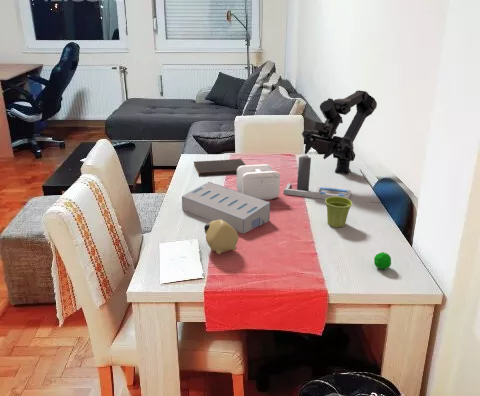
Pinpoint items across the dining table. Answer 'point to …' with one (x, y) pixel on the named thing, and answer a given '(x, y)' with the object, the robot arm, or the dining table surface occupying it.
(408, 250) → the dining table surface
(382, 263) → the polyhedron
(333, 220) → the plant pot
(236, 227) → the warehouse
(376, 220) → the dining table surface
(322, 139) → the robot arm
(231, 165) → the hardcover book
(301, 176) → the grey bottle
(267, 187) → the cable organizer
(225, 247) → the tan rounded figure
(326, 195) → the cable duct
